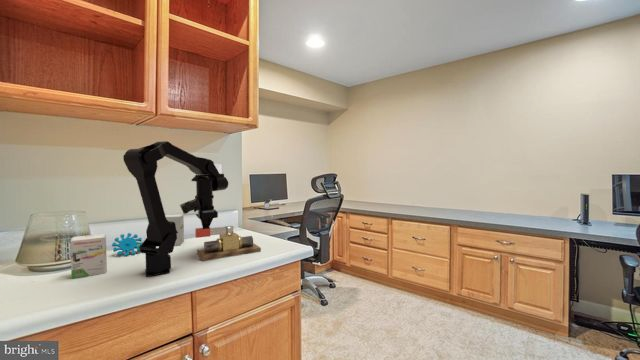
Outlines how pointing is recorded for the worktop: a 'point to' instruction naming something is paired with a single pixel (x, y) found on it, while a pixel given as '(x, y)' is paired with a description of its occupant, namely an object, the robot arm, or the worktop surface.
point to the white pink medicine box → (88, 255)
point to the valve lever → (213, 231)
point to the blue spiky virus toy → (127, 244)
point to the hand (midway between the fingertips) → (205, 232)
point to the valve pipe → (228, 243)
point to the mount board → (227, 252)
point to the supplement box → (178, 226)
